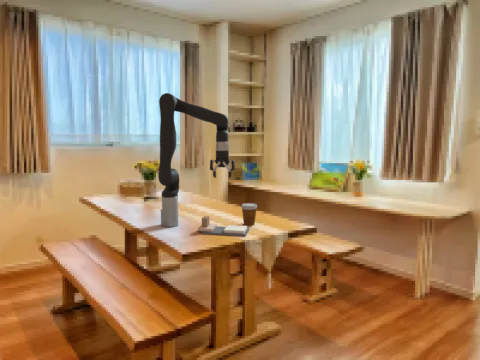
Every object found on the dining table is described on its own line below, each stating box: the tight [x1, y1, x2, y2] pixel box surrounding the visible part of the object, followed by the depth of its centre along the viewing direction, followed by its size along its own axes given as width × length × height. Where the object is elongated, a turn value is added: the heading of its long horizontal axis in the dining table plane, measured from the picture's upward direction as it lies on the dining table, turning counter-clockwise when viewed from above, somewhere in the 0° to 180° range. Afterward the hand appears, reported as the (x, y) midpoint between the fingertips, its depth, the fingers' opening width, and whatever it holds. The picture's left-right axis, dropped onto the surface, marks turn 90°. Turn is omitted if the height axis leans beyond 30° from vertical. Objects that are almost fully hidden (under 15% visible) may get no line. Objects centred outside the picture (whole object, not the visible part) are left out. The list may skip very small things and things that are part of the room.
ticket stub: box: [197, 215, 218, 232], centre depth 195 cm, size 8×10×6 cm
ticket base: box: [200, 224, 250, 237], centre depth 193 cm, size 24×13×2 cm, turn 79°
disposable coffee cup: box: [241, 202, 258, 227], centre depth 208 cm, size 10×10×12 cm
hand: (222, 177), depth 203 cm, fingers open, 8 cm apart
